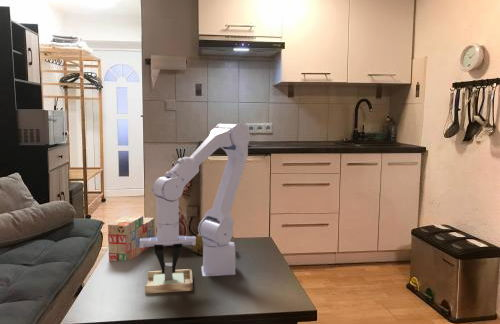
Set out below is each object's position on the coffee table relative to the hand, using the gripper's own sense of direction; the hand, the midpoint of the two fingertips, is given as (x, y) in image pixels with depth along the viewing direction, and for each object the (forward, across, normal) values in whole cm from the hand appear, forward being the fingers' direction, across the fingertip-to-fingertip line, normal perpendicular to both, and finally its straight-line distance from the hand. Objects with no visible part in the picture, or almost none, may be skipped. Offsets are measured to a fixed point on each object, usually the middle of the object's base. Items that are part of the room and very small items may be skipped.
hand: (168, 271), depth 108 cm
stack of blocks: (+4, +12, -31) cm, 33 cm away
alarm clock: (+4, -1, -34) cm, 34 cm away
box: (+4, 0, 0) cm, 4 cm away
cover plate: (+3, 0, 0) cm, 3 cm away
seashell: (+4, -14, -27) cm, 31 cm away
